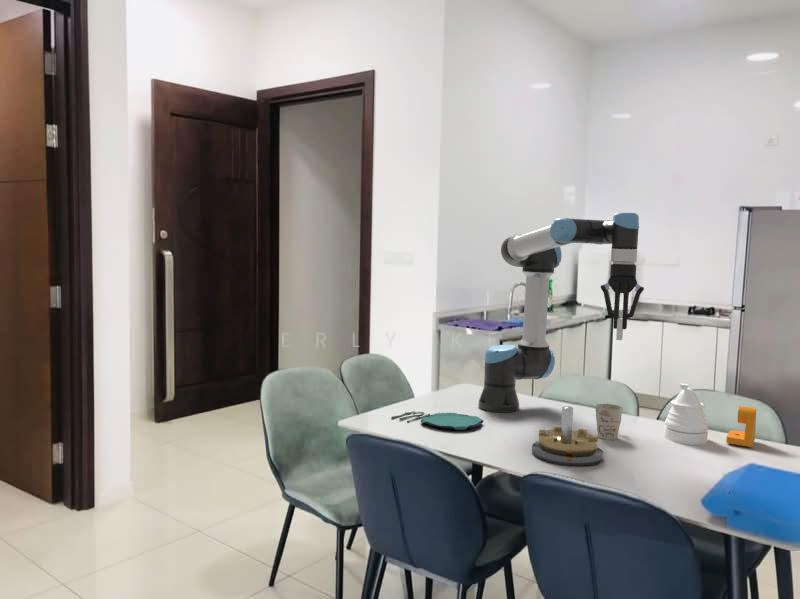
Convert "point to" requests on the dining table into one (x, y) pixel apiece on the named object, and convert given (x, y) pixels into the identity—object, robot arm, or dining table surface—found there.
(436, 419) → the cutlery set
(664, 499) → the dining table surface
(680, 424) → the honey pot
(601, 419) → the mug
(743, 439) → the bracket
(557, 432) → the round peg stand
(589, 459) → the disc
